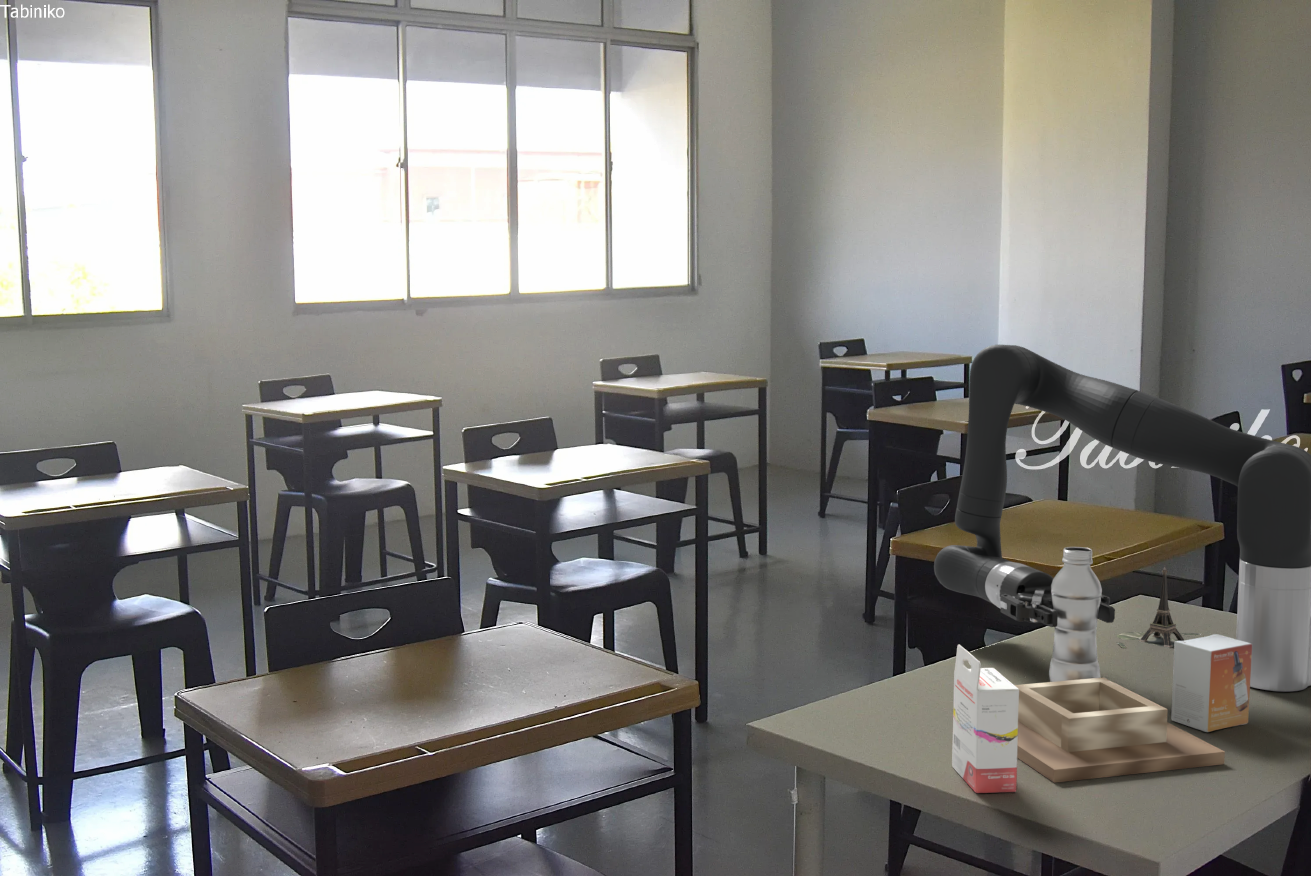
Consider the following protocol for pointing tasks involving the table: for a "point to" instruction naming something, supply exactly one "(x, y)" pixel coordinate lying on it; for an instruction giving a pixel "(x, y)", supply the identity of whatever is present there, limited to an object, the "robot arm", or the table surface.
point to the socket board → (1101, 732)
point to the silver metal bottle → (1075, 617)
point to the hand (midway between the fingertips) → (1083, 617)
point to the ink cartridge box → (984, 726)
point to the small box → (1211, 682)
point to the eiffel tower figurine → (1158, 625)
